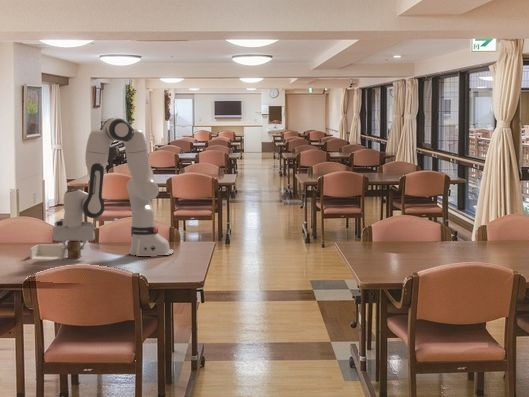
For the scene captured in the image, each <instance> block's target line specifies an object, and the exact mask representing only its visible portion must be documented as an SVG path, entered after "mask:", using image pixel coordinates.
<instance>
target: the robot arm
mask: <svg viewBox="0 0 529 397" xmlns="http://www.w3.org/2000/svg"><path fill="white" fill-rule="evenodd" d="M114 141H119V142H122V143H123V146H124V149H125V150H124V151H125V156H126V163H127V169H128V170H129V173H130V175H131V178H130V179H129V180H128V181H127V183H126V190H127V192H128V199H129V203H130V208H131V209H130V210H131V226H130V232H131V233H130V234H131V244H130V250H129V254H130V255H132V256H135V255H136V256H135V257H138V256H151V257H158V256H157V255H169V254H172V253H173V252H175V251H174V249H172V248H171V249H170V243H169V241H168V240H167V238H165V237H164V236H162V234H159V226H156V225H155V215H154V214H155V212H154V208H153V205H152V201H153V200H154V199H156V198H157V197H158V195H159V194H160V188H159V186H158V184H157V182H156V179H155V176H154V172H153V170H152V167H151V162H150V157H149V150H148V144H147V142H146V141H147V140H146V138H145V134H144V133H143V131H142V130H140V129H138V128H134V127H132V125H131V124H130V123H129V122H128V121H127V120H126V119H123V118H120V117H114V118H113V117H112V118H108V119H107V120H106V121H105V122H104V123H103V124H102V126H101V127H100V129H94V130H92V131H90V132H89V135H88V139H87V141H86V142H87V143H86V148H85V157H84V158H85V166H86V169H87V172H88V177H89V183H88V192H85V191H84V190H82V189H81V188H71V189H68V190H66V191H65V193H64V195H63V209H64V214H63V218H61V219H59V220H56V221H55V222H54V227H53V230H52V231H53V232H52V239H53V241H55V242H56V241H57V242H58V241H60V242H61V245H64V248H65V250H68V247H67V243H66V242H68V241H80V242H82V245H80V249H81V251H83V250H85V245H86V244H87V242H91V241H94V240H95V239H96V235H95V230H96V229H95V223H93V222H91V221H84V220H83V217H84V216H83V214H84V215H85V216H86V217H88V218H91V219H97V218H99V217H100V216H102V215H103V213H105V204H104V200H103V186H104V185H103V184H104V176H105V173H106V167H107V165H108V162H109V161H108V160H109V153H110V147H111V144H112V142H114ZM151 200H152V201H151ZM173 254H174V253H173ZM173 254H172V255H173Z"/></svg>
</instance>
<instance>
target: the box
mask: <svg viewBox="0 0 529 397" xmlns="http://www.w3.org/2000/svg"><path fill="white" fill-rule="evenodd" d="M67 257H68V250H65V248H64V245H63V244H42V243H41V244H39V243H38V244H36V245H34V246H31V247H30V248H29V259H30V260H63V259H64V258H67Z"/></svg>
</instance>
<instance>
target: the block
mask: <svg viewBox="0 0 529 397" xmlns="http://www.w3.org/2000/svg"><path fill="white" fill-rule="evenodd" d="M66 242H67V243H66V245H67V247H68V256H67V258H79V257H80V256H82V252H81V251H82V250H81V249H80V246H81V241H66ZM80 258H81V257H80ZM80 258H79V259H80Z"/></svg>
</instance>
